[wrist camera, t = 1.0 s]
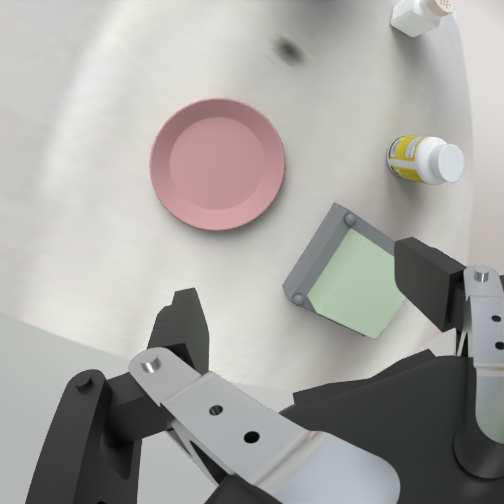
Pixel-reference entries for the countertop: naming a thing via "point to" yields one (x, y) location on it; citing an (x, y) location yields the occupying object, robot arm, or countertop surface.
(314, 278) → the sponge in grey tray
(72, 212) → the countertop surface
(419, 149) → the supplement bottle
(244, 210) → the plate
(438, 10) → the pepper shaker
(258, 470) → the robot arm
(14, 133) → the countertop surface
